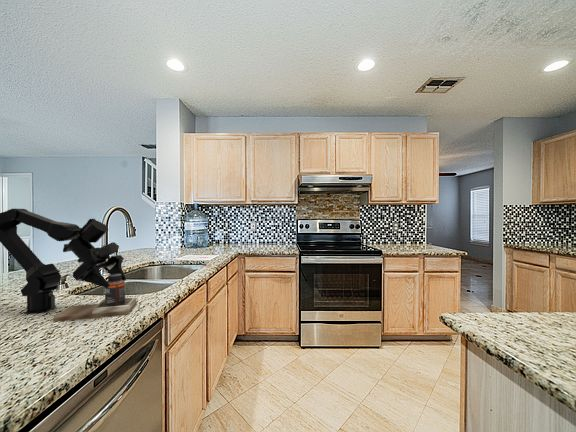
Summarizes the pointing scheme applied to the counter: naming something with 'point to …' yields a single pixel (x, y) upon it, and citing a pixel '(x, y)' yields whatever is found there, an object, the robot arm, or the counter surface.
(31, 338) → the counter surface
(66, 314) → the walnut board
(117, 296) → the supplement bottle
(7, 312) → the counter surface
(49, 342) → the counter surface
